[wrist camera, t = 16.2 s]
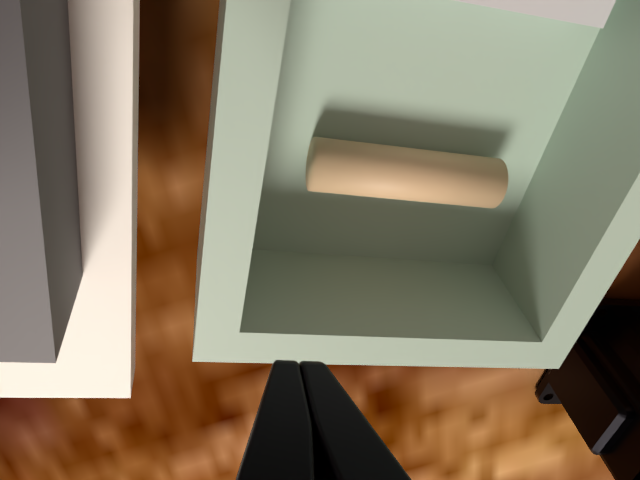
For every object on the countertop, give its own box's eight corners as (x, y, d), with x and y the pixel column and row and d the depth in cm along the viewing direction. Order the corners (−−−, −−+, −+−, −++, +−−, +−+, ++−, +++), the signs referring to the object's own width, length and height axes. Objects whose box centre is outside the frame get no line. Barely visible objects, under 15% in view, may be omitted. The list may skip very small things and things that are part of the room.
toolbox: (733, -225, 14) (944, -252, 10) (497, 275, 23) (558, 369, 19) (253, -385, 11) (275, -514, 7) (197, 256, 20) (192, 361, 16)
